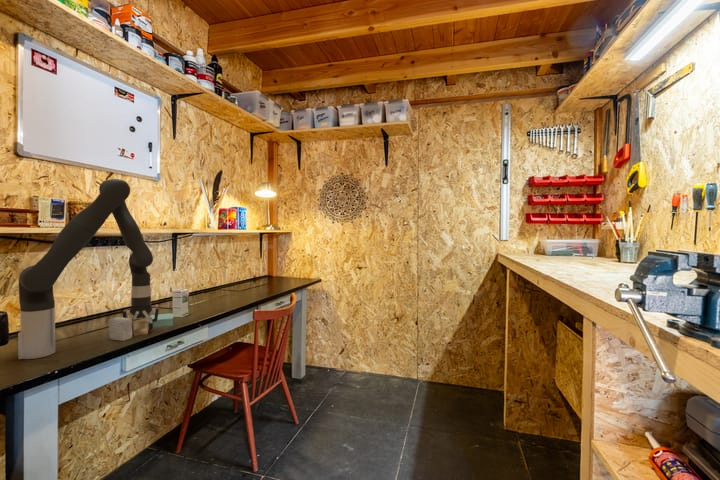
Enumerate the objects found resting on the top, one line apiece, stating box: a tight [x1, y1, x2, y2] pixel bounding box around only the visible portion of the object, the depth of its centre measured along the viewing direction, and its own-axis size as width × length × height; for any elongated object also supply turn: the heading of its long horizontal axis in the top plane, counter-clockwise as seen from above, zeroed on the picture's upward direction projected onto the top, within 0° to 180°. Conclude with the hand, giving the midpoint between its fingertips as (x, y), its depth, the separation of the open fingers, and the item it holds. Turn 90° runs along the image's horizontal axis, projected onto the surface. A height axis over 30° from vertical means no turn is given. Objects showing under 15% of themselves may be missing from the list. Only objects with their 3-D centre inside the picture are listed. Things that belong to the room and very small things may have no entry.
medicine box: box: [108, 316, 133, 342], centre depth 144 cm, size 8×4×9 cm, turn 74°
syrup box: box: [172, 288, 190, 318], centre depth 182 cm, size 6×6×14 cm
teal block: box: [146, 312, 174, 329], centre depth 166 cm, size 11×11×4 cm
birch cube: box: [133, 320, 149, 336], centre depth 151 cm, size 5×5×5 cm
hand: (141, 331), depth 151 cm, fingers open, 6 cm apart
